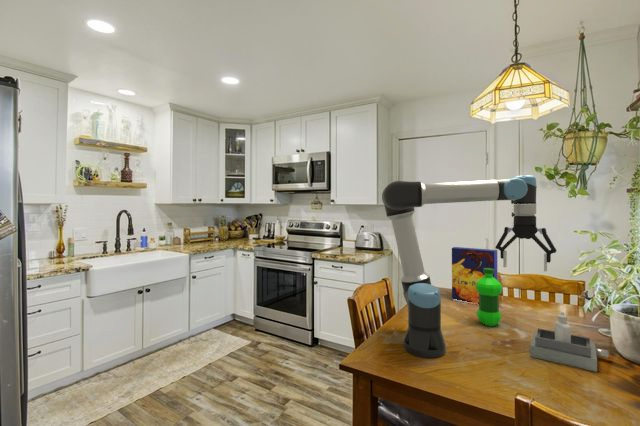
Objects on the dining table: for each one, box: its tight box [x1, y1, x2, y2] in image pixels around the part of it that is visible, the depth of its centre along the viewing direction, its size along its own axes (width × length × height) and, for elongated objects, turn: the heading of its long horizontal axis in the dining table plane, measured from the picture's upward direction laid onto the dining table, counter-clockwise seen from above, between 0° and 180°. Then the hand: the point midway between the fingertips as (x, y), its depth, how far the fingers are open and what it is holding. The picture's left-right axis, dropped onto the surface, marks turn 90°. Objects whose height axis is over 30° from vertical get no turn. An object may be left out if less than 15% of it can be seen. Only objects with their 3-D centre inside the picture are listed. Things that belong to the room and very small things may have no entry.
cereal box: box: [451, 246, 498, 304], centre depth 177 cm, size 22×6×30 cm, turn 47°
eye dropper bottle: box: [554, 311, 572, 343], centre depth 113 cm, size 4×6×12 cm
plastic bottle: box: [476, 268, 503, 327], centre depth 145 cm, size 10×10×25 cm
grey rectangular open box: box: [529, 328, 610, 373], centre depth 113 cm, size 16×22×7 cm
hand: (524, 268), depth 127 cm, fingers open, 13 cm apart
